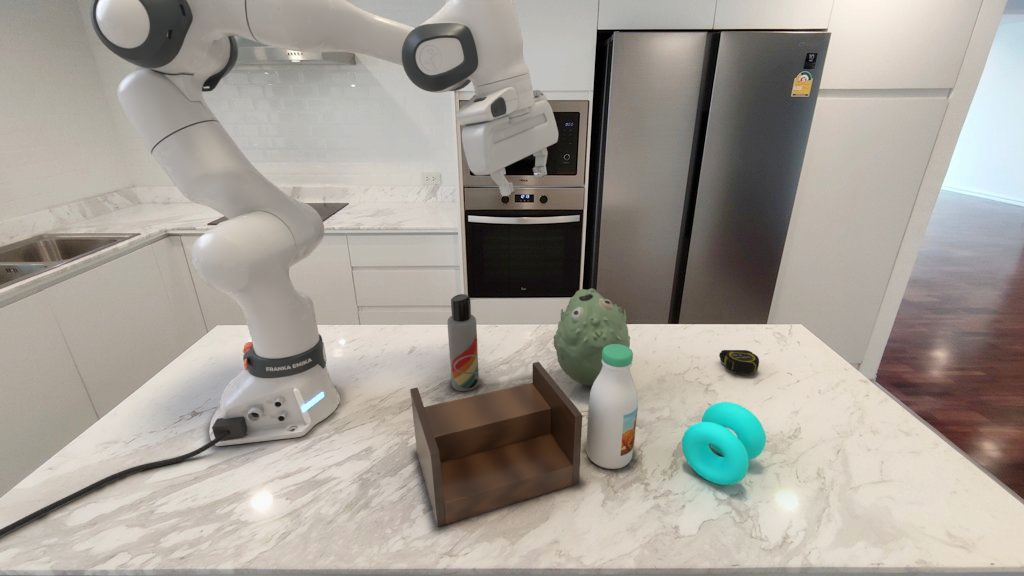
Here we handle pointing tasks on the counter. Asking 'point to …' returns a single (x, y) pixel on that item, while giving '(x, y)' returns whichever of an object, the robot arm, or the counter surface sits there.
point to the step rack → (497, 447)
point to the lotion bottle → (463, 344)
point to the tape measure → (740, 361)
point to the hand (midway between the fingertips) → (525, 185)
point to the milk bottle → (612, 410)
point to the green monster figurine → (588, 334)
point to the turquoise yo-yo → (724, 443)
